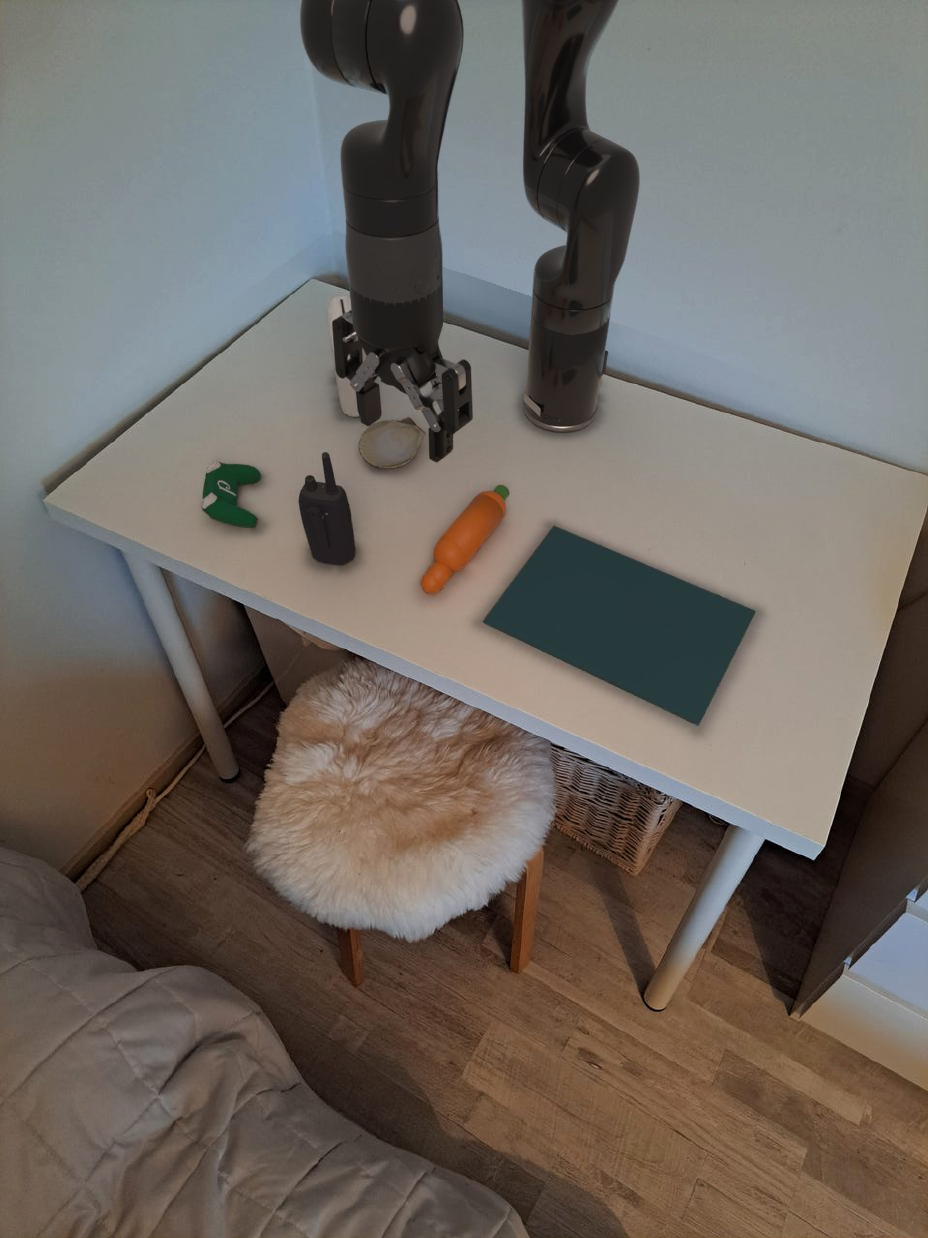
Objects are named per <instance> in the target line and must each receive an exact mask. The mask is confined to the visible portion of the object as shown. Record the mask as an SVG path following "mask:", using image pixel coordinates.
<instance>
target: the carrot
mask: <svg viewBox="0 0 928 1238" xmlns="http://www.w3.org/2000/svg"><path fill="white" fill-rule="evenodd" d="M510 493H511V492H510V490H509V488H508V487H507V486H505V484H498V485H496V486H495V488H494V489H493V490H485V491H481V492H480V493H478V494H477V495H475V496H474V498H473V499H472V500H471V501H470V502H469V504H468V505H467V506H466V507H465V508H464V509H463V511H462V512H460V514H459V516H457V518H456V519H455V520H454V521H453V522H452V524H451V525H450V526H449V527H448V529H446V531H445V532H444V533H443V534H442V535H441V537H440V538H439V539H438V540H437V542H436V543H435V545H434V547H433V550H432V558H433V561H434V562H432V564H431V566H429V568H428V569H427V570H426V571H425V573H424V574H423V575H422V576H421V578H420V587H421V589H422V590H423V592H425V593H427V594H430V595H434V594H437V593H439V592H440V591H441V590H442V589H443V587H444V586H445V585H446V584H447V583H448V582H449V580H450V579H451V578H452V576H453V575H454V573H456V572H458V571H461V570H462V569H464V568H465V566H467V564H468V563H469V562H470V560H471V559H472V558H473V557H474V555H475V554H476V553H477V552H478V551H479V549H481V547H482V546H483V544H484V543H485V542H486V540H487V539H488V538H489V536H491V534H492V533H493V532H494V531H495V530H496V528H497V527H498V525H500V523H501V522H502V520H503V519H504V517H505V515H506V512H507V505H506V500H507V499H508V498H509V496H510Z"/></svg>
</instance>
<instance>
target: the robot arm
mask: <svg viewBox="0 0 928 1238" xmlns="http://www.w3.org/2000/svg"><path fill="white" fill-rule="evenodd" d="M520 2H521V22H522V23H521V24H522V49H523V69H524V71H523V72H524V112H523V113H524V114H523V142H522V143H523V144H522V145H523V146H522V149H523V150H522V181H523V182H522V183H523V189H524V194H525V198H526V200H527V202H528V204H529V206H530V208H531V209H532V210H533V211H534V212H535V213H536V214H537V215H538V216H539V217H540V218H542V219H543V220H545V221H546V222H548V223H550V224H551V225H553V226H555V227H557V228H558V229H560V230H562V231H563V232H565V233H566V241H565V242H566V243H565V244H563V245H560V246H556V247H553V248H551V249H549V250H546V251H545V252H544V253H542V254H541V255H540V256H539V258H537V260H536V262H535V264H534V268H533V274H532V288H531V289H532V292H531V306H530V324H529V336H528V337H529V338H528V339H529V341H528V352H527V353H528V355H527V371H526V373H527V374H526V386H525V392H524V393H523V402H524V403H523V409H524V410H523V411H524V413H525V416H526V418H527V419H528V420H529V421H530V422H531V423H532V424H533V425H535V426H536V427H539V429H540V428H541V429H543V430H546V431H550V432H555V433H570V432H576V431H580V430H582V429H584V428H586V427H587V426H589V425H590V424H591V423H592V422H593V421H594V420H595V418H596V416H597V412H598V401H599V394H600V393H599V392H600V388H601V381H602V377H603V375H604V374H605V373H606V369H607V361H608V356H609V351H608V350H606V347H607V341H608V335H609V334H608V333H609V326H610V320H611V312H612V307H613V306H612V305H613V299H614V292H615V286H616V283H617V279H618V277H619V276H620V272H621V270H622V269H623V266H624V264H625V260H626V256H627V254H628V253H627V252H628V247H629V243H630V237H631V233H632V229H633V225H634V224H633V223H634V220H635V215H636V210H637V206H638V200H639V193H640V186H641V185H640V184H641V175H640V165H639V162H638V160H637V158H636V156H635V155H634V153H632V152H631V151H630V150H629V149H627V148H625V147H624V146H622V145H620V144H618V143H616V142H614V141H612V140H610V139H609V138H606V137H604V136H602V135H600V134H599V133H597V132H594V131H592V130H591V129H590V127H589V122H588V113H587V80H588V79H587V78H588V71H589V66H590V62H591V59H592V57H593V54H594V51H595V50H596V47H597V45H598V44H599V42H600V40H601V38H602V36H603V34H604V33H605V31H606V29H607V27H608V25H609V23H610V22H611V19H612V17H613V15H614V14H615V11H616V9H617V7H618V5H619V2H620V0H520ZM299 27H300V35H301V40H302V45H303V48H304V51H305V54H306V56H307V58H308V60H309V62H310V63H311V65H312V66H313V67H314V68H315V70H316V71H317V72H318V73H319V74H320V75H322V76H323V77H324V78H326V79H328V80H330V81H332V82H335V83H336V84H337V83H338V84H340V85H344V86H348V87H353V88H358V89H360V90H361V89H362V90H365V91H369V92H374V93H378V94H382V95H385V96H387V97H388V114H387V119H379V120H378V119H377V120H372V121H368V122H367V121H366V122H363V123H360V124H358V125H356V126H354V127H352V128H351V129H350V130H349V131H348V132H347V133H346V134H345V135H344V137H343V139H342V142H341V145H340V151H339V153H340V154H339V155H340V157H339V160H340V172H341V173H340V174H341V186H342V187H341V188H342V196H343V206H344V217H345V241H344V242H345V247H344V249H345V260H346V267H347V268H346V269H347V279H348V280H347V281H348V289H349V297H350V300H351V310H350V311H348V312H346V313H344V314H343V315H341V316H339V317H338V318H337V319H335V320H333V321H332V330H333V343H334V356H335V368H334V370H335V369H336V373H337V375H338V376H339V377H340V378H342V379H344V378H345V377H346V378H348V379H349V380H350V384H351V387H352V388H353V389H354V390H355V391H356V400H357V409H358V413H359V416H358V417H359V418H360V423H361V424H362V425H364V426H366V427H370V426H371V425H373V424H374V423H377V422H378V421H379V420H380V419H381V417H382V401H381V389H380V388H381V387H380V384H379V383H378V382H375V381H377V380H378V378H379V379H380V382H381V383H383V384H385V385H387V386H390V387H391V386H392V387H394V388H396V389H397V390H398V391H399V392H401V393H403V394H405V395H407V397H408V400H409V401H410V403H411V404H412V407H413V408H414V409H415V410H416V411H420V412H421V413H422V415H423V417H424V419H425V420H426V423H427V425H428V426H429V427H428V428H427V429H428V430H427V431H428V434H427V435H428V459H429V460H431V461H432V462H434V463H439V462H441V460H443V459H445V458H446V457H447V456H448V455H449V454H451V453H452V452H453V450H454V435H455V434H456V433H458V432H459V431H460V430H461V429H462V428H465V426H466V425H468V424H469V423H471V422H472V421H473V419H474V415H473V414H474V410H473V383H472V381H473V380H472V366H471V363H470V362H469V361H468V360H467V359H466V358H465V359H463V358H462V359H461V360H459V361H458V362H456V363H455V362H452V361H450V360H448V359H445V358H444V357H443V354H442V352H441V349H440V345H439V339H440V337H441V333H442V330H443V326H444V276H443V275H444V262H443V261H444V259H443V258H444V257H443V256H444V255H443V239H442V233H441V227H440V225H441V224H440V216H439V215H440V213H439V212H440V211H439V210H440V209H439V205H440V204H439V159H440V153H441V148H442V144H443V139H444V134H445V131H446V124H447V119H448V116H449V115H448V114H449V110H450V106H451V102H452V101H451V100H452V97H453V92H454V88H455V85H456V81H457V78H458V73H459V70H460V66H461V61H462V56H463V51H464V41H465V40H464V39H465V27H464V20H463V15H462V9H461V6H460V3H459V0H301V1H300V10H299ZM362 348H363V350H364V352H365V354H366V355H367V357H366V359H365V361H364V362H363V353H362ZM349 354H350V359H349V360H348V355H349ZM429 383H430V384H431V390H430V391H429V392H427V393H426V394H425V395H423V394H422V392H421V389H423V388H424V387H426V386H427V385H428V384H429ZM435 402H436V404H437V406H438V408H439V410H440V412H439V413H437V411H436V409H435V407H434V404H435Z"/></svg>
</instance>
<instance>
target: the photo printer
mask: <svg viewBox="0 0 928 1238" xmlns="http://www.w3.org/2000/svg"><path fill="white" fill-rule="evenodd" d="M350 310H351V300H350V296H349V295H342V296H340V295H339V296H338V295H336V296H334V297H333V298H332V299H331V300H330V302H329V304H328V307H327V309H326V319H327V329H328V337H329V342H330V348H331V354H332V362H333V366H334V373H335V381H336V387H337V388H336V389H337V395H338V399H339V404H340V408H341V411H342V413H343V414H344V415H347V416H349V417H353V418H357V417H360V416H359V413H358V409H357V400H356V391H355V390H354V389H353V388H352V387H351V384H350V380H349V379H348V378H346V377H345V378H344V379H342V378H340V377H339V376H338V375H337V373H336V369H335V356H334V343H333V330H332V321H333V320H335V319H337V318H338V317H339V316H341V315H343V314H344V313H346V312H348V311H350ZM362 353H363V362H364V361H365V359H366V357H367V355H366V354H365V352H364V350H363V348H362ZM349 359H350V354H349V355H348V360H349Z"/></svg>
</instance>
